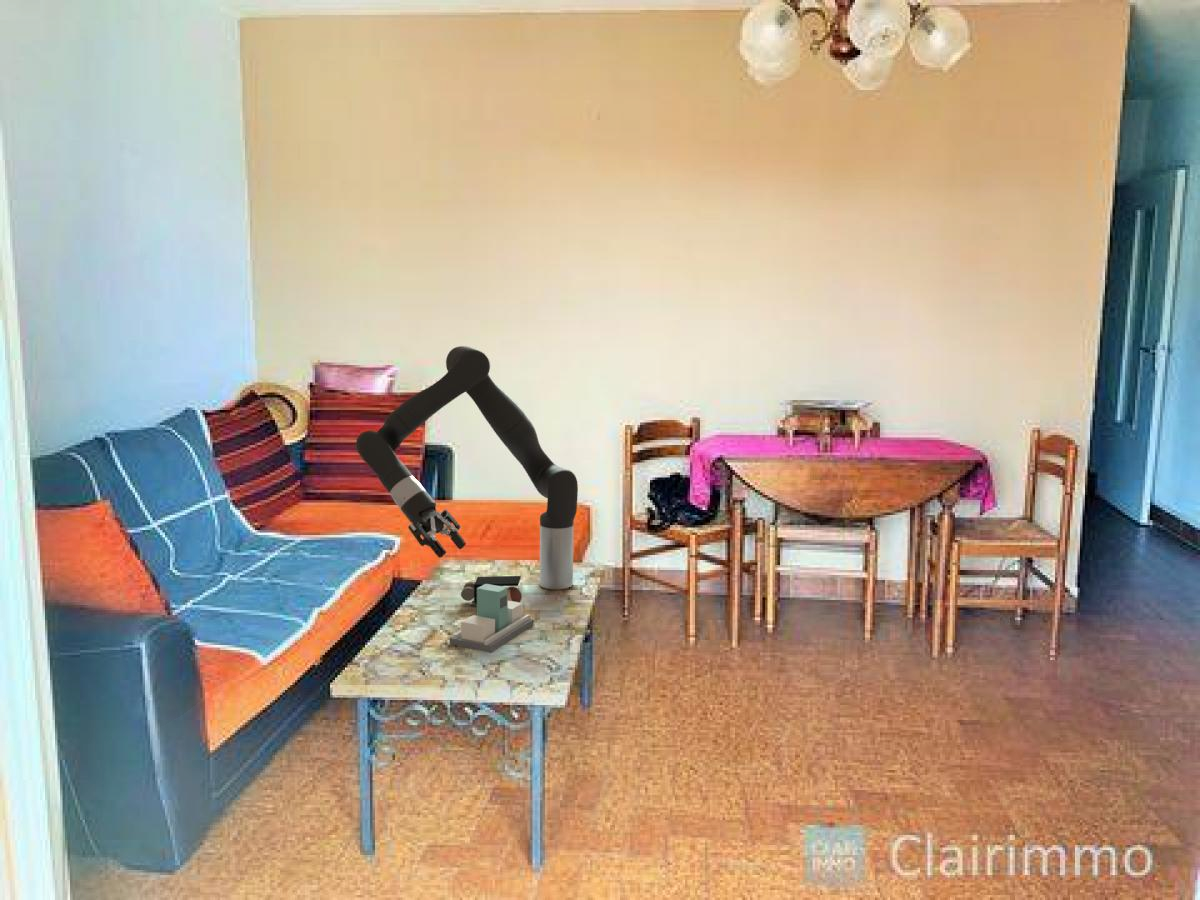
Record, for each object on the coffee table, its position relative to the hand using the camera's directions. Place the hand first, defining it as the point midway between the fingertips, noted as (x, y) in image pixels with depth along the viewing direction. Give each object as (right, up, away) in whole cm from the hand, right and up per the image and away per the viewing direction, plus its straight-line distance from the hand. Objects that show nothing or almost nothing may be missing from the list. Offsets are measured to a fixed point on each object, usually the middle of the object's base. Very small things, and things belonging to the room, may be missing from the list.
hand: (453, 551), depth 227 cm
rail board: (+10, -20, -1) cm, 22 cm away
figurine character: (+7, -16, +20) cm, 27 cm away
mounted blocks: (+10, -18, -2) cm, 21 cm away
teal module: (+9, -18, -2) cm, 21 cm away
